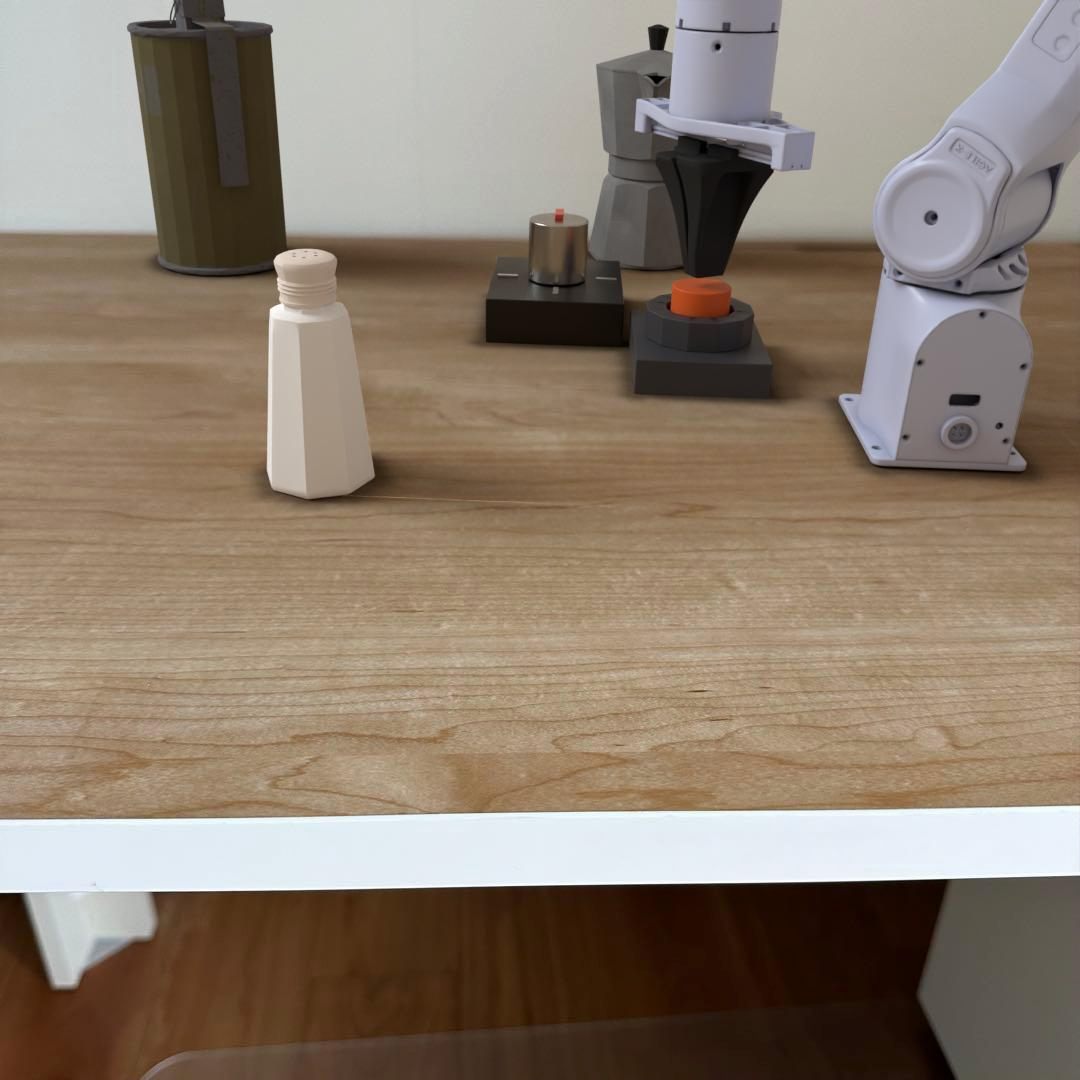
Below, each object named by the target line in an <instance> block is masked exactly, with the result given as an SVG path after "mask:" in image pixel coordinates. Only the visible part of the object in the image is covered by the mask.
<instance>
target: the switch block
mask: <svg viewBox="0 0 1080 1080" xmlns="http://www.w3.org/2000/svg"><path fill="white" fill-rule="evenodd" d="M671 297H672V293H665V294H660V295H657V296H656V297H653V298H651V299H649V300H647V302H646V304H645V305H646V306H645V310H643V309H630V313H629V326H628V339H627V340H628V349H629V351H628V352H629V360H630V368H631V370H630V371H631V379H632V390H633V395H648V396H649V395H652V396H653V395H654V396H674V397H675V396H677V397H680V396H681V397H702V398H704V397H705V398H727V399H728V398H729V399H731V398H733V399H754V400H755V399H757V400H769V399H770V390H771V384H772V376H773V375H772V374H773V367H774V365H773V362H772V360H771V358H770V355H769V352H768V350H767V349H766V345H765V344H764V341H763V339H762V336H761V334H760V332H759V330H758V327H757V325H756V322H755V311H754V310H753V308H752V305H750V304H748V303H746V302H744V301H742V300H739V299H737V298H735V297H731V300H730V309H729V315H728V316H721V317H714V318H706V317H691V316H686V315H681V314H676V313H674V312H672V311H670V309H671Z"/></svg>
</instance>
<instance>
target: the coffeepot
mask: <svg viewBox="0 0 1080 1080" xmlns="http://www.w3.org/2000/svg"><path fill="white" fill-rule="evenodd" d="M647 32H648V44H649V49H647V50H643V51H639V52H635V53H632V54H628V55H625V56H621V57H617V58H614V59H610V60H606V61H603V62H599V63H596V64H595V69H596V78H597V79H596V80H597V89H598V92H597V93H598V101H599V102H598V103H599V115H600V125H601V135H602V136H601V137H602V148H603V150H604V152H605V153H607V154H608V164H607V172H608V173H607V174H606V175H605V176H604V178H603V180H602V184H601V189H600V193H599V197H598V202H597V207H596V212H595V217H594V221H593V226H592V231H591V235H590V240H589V245H588V248H587V252H589V254H590V255H591V257H593V259H594V260H605V261H620V268H623V269H630V270H640V271H641V270H644V271H646V270H647V271H658V270H659V271H662V270H672V269H673V270H674V269H678V268H684V267H683V261H682V255H681V248H680V242H679V235H678V229H677V224H676V219H675V214H674V210H673V207H672V203H671V200H670V197H669V194H668V191H667V188H666V186H665V183H664V181H663V178H662V176H661V174H660V172H659V170H658V168H657V166H656V164H655V160H656V153H657V152H661V151H674V147H675V146H677V144H678V140H677V139H673V138H669V137H666V136H662V135H658V134H655V133H648V134H644V133H639V132H636V131H635V118H636V102H637V99H646V98H667V99H670V87H671V74H672V60H673V52H670V51H668V50H665V47H666V43H667V39H668V35H669V32H670V27H668V26H666V25H663V24H659V23H658V24H656V23H655V24H654V25H650V26H648V27H647Z"/></svg>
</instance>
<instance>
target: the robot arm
mask: <svg viewBox="0 0 1080 1080" xmlns="http://www.w3.org/2000/svg"><path fill="white" fill-rule="evenodd" d="M782 8H783V0H676V6H675V19H674V22H675V23H674V34H673V35H674V37H673V46H672V47H673V48H672V53H673V60H672V74H671V87H670V99H667V98H646V99H637V102H636V118H635V131H636V132H639V133H644V134H648V133H655V134H658V135H662V136H666V137H669V138H673V139H677V140H678V144H677V146H675V147H674V151H661V152H657V153H656V160H655V164H656V166H657V168H658V170H659V172H660V174H661V176H662V178H663V181H664V183H665V186H666V188H667V191H668V194H669V197H670V200H671V203H672V207H673V210H674V214H675V219H676V224H677V229H678V235H679V242H680V248H681V255H682V261H683V267H682V268H683V271H684V274H686V275H688V276H690V277H691V278H712V277H720V276H724V274H725V271H726V268H727V266H728V263H729V260H730V257H731V255H732V252H733V250H734V246H735V243H736V241H737V239H738V236H739V232H740V230H741V228H742V227H743V223H744V221H745V219H746V216H747V214H748V213H749V210H750V208H751V207H752V205H753V204H754V201H755V200H756V198H758V197H757V196H758V195H759V193H760V192H761V190H762V188H763V187H764V186H765V184H766V183H767V182H768V181H769V180H770V178H771V176H772V175H774V173H775V171H778V172H782V173H783V172H791V171H792V172H793V171H805V170H811V168H812V161H813V153H814V145H815V138H816V131H813V130H810V129H805V128H802V127H799V126H797V125H794V124H792V123H790V122H787V121H785V120H783V113H782V112H781V111H775V110H771V106H772V99H773V90H774V80H775V72H776V71H775V70H776V62H777V54H778V46H779V36H780V35H779V34H780V31H779V30H780V27H781V26H780V25H781V16H782ZM1079 152H1080V0H1043V1H1042V3H1041V4H1040V5H1039V7H1038V9H1037V10H1036V12H1035V13H1034V14H1033V16H1032V18H1031V19H1030V20H1029V22H1028V23H1027V25H1026V26H1025V28H1024V29H1023V31H1021V33H1020V35H1019V36H1018V38H1017V39H1016V41H1015V42H1014V44H1013V45H1012V47H1011V48H1010V49H1009V51H1008V53H1007V54H1006V56H1005V57H1004V58H1003V60H1002V61H1001V63H1000V64H999V66H998V67H997V69H996V70H995V71H994V72H993V74H992V75H990V76H989V78H987V79H986V80H985V81H984V82H983V83H982V84H981V85H980V86H979V87H978V88H977V89H976V90H975V91H974V92H972V94H970V95H969V96H968V97H967V98H966V99H965V100H964V101H963V102H962V103H961V104H960V105H959V106H958V107H957V108H956V109H955V110H954V111H953V112H951V114H949V116H948V118H947V119H946V121H945V122H944V124H943V125H942V126H941V128H940V130H939V131H938V132H937V134H936V135H935V137H934V138H932V140H931V141H929V142H928V143H927V144H926V145H925V146H924V147H922V148H921V149H919V150H917V151H916V152H914V153H913V154H911V155H909V156H906V157H905V158H904V159H902V160H901V161H900V162H898V164H896V165H895V166H894V167H893V168H892V169H891V170H890V172H888V173H887V175H886V176H885V178H884V179H883V180H882V182H881V184H880V186H879V188H878V190H877V193H876V195H875V199H874V203H873V206H872V207H873V209H872V228H873V234H874V238H875V241H876V244H877V246H878V249H879V250H880V252H881V253H882V255H883V263H882V268H881V269H882V270H881V274H880V281H879V287H878V291H877V298H876V302H875V303H876V304H875V308H874V309H875V310H874V316H873V321H872V326H871V327H872V328H871V333H870V339H869V345H868V351H867V357H866V363H865V368H864V373H863V379H862V386H861V392H860V394H859V393H842V394H840V395H839V396H838V404H839V405H840V407H841V409H842V411H843V413H844V415H845V416H846V418H847V421H848V422H849V424H850V426H851V428H852V429H853V431H854V434H855V436H856V437H857V439H858V440H859V443H860V444H861V446H862V448H863V449H864V452H865V454H866V456H867V457H868V459H869V461H870V463H871V464H873V465H875V466H880V467H897V468H898V467H900V468H923V469H925V468H926V469H946V470H947V469H948V470H972V471H973V470H974V471H976V470H977V471H997V472H998V471H999V472H1023V471H1025V470H1026V468H1027V463H1028V462H1027V461H1026V460H1025V459H1024V457H1023V456H1022V455H1021V454H1020V452H1019V451H1018V450H1017V448H1015V447H1014V442H1015V436H1016V435H1017V434H1016V433H1017V430H1018V425H1019V421H1020V417H1021V413H1022V409H1023V405H1024V400H1025V397H1026V392H1027V388H1028V384H1029V381H1030V377H1031V372H1032V368H1033V362H1034V348H1033V342H1032V339H1031V336H1030V334H1029V331H1028V330H1027V327H1026V326H1025V325H1024V324H1025V323H1023V320H1022V316H1021V308H1022V304H1023V299H1024V295H1025V291H1026V286H1027V281H1028V277H1029V273H1030V267H1029V266H1028V265H1029V263H1028V259H1027V254H1026V250H1025V249H1024V248H1025V245H1026V244H1027V243H1028V242H1029V241H1031V240H1033V239H1034V238H1035V237H1036V236H1037V235H1039V233H1040V232H1042V230H1043V229H1044V228H1045V226H1046V225H1047V224H1048V223H1049V220H1050V219H1051V218H1052V216H1053V213H1054V211H1055V208H1056V205H1057V201H1058V196H1059V190H1060V185H1061V183H1062V180H1063V177H1064V175H1065V173H1066V171H1067V170H1068V167H1069V166H1070V164H1071V163H1072V162H1073V160H1074V159H1075V158H1076V157H1077V155H1078V154H1079Z"/></svg>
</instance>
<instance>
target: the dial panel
mask: <svg viewBox="0 0 1080 1080" xmlns="http://www.w3.org/2000/svg"><path fill="white" fill-rule="evenodd" d="M621 268H622V267H620V261H605V260H596V259H587V265H586V279H585V281H583V282H581V283H578V284H574V285H562V286H558V285H546V284H540V283H537V282H534V281H532V280H530V279H529V277H528V257H523V256H517V257H516V256H497V257H496V261H495V264H494V269H493V272H492V276H491V280H490V283H489V286H488V290H487V295H486V298H485V343H491V344H492V343H493V344H519V345H540V346H541V345H543V346H545V345H547V346H571V347H572V346H573V347H598V348H622V345H623V330H624V328H623V327H624V315H625V313H624V312H625V300H624V290H623V280H622V279H623V278H622V269H621Z"/></svg>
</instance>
